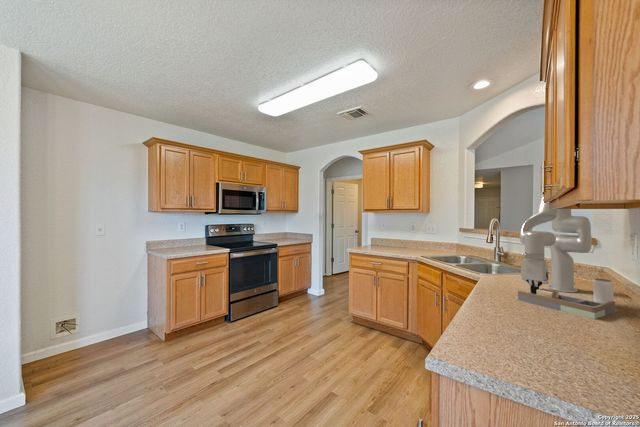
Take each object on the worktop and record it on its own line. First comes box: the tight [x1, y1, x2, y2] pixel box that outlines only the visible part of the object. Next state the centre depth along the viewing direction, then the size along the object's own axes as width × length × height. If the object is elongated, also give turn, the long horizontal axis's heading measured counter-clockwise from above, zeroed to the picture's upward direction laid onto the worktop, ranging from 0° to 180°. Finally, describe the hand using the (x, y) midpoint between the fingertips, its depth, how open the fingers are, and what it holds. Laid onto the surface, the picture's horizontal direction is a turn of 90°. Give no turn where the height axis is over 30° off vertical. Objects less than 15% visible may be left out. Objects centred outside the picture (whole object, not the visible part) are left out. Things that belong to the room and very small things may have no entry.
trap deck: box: [517, 290, 616, 320], centre depth 124 cm, size 20×28×4 cm
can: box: [592, 278, 615, 304], centre depth 124 cm, size 6×6×12 cm
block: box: [536, 288, 560, 299], centre depth 125 cm, size 6×6×4 cm
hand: (534, 293), depth 130 cm, fingers closed
